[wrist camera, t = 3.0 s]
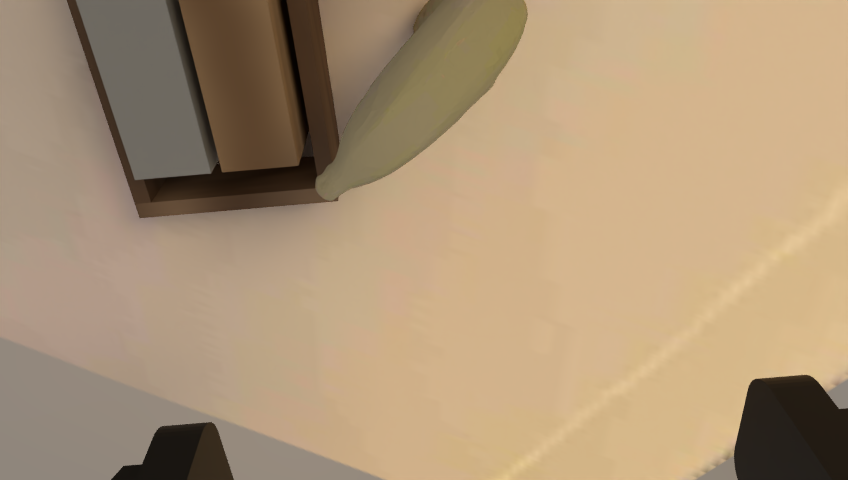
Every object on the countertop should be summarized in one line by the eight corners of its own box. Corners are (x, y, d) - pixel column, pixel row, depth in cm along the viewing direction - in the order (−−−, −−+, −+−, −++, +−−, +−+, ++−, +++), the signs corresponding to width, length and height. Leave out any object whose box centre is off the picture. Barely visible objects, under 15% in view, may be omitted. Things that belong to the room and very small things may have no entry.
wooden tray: (296, -139, 30) (283, -136, 26) (343, 167, 38) (337, 200, 34) (71, -119, 30) (29, -113, 27) (163, 183, 38) (139, 218, 34)
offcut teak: (280, -66, 32) (258, -46, 26) (312, 118, 36) (298, 165, 31) (205, -59, 32) (168, -38, 26) (246, 124, 36) (222, 172, 31)
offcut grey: (195, -58, 32) (155, -37, 26) (237, 125, 36) (210, 173, 31) (120, -51, 32) (66, -29, 26) (172, 130, 36) (134, 180, 31)
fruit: (564, -9, 31) (529, -76, 30) (508, 123, 19) (445, 20, 18) (439, 65, 35) (403, 8, 34) (324, 215, 23) (262, 134, 22)
